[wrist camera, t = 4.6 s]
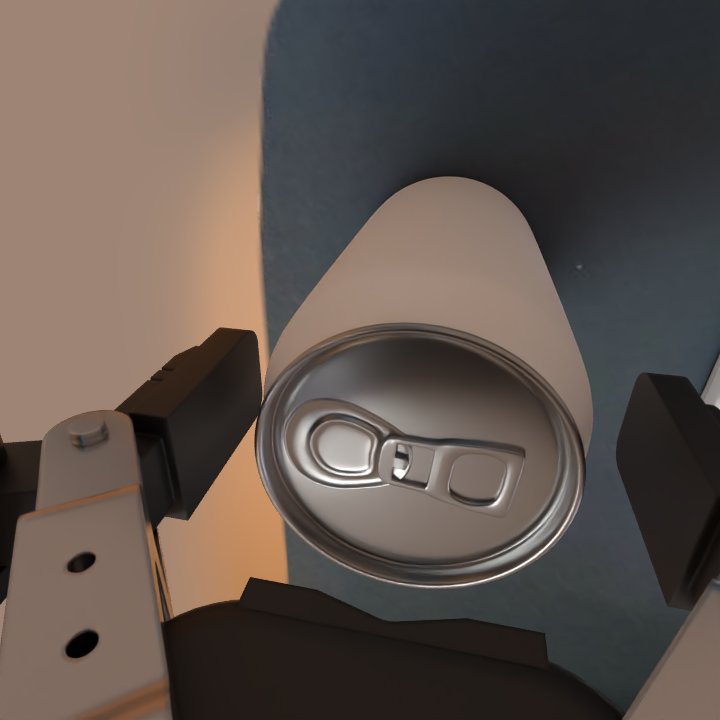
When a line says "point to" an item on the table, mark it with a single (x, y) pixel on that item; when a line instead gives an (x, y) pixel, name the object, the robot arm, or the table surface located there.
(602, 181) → the table surface
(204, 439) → the robot arm
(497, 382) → the can
